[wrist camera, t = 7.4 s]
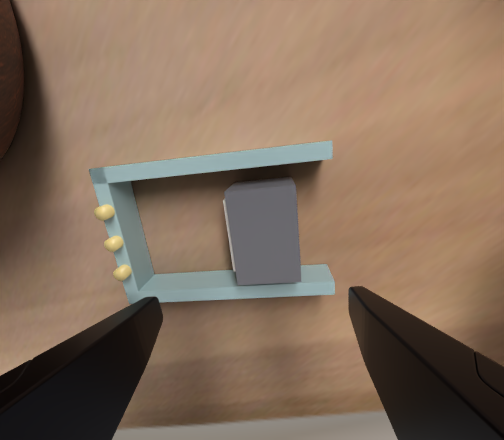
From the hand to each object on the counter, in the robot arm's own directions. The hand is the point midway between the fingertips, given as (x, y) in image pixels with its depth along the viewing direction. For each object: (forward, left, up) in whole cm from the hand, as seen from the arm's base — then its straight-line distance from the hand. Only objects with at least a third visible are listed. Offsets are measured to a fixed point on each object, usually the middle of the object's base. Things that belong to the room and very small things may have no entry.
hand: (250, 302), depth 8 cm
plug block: (0, 0, -10) cm, 10 cm away
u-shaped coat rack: (+3, 0, -10) cm, 10 cm away
